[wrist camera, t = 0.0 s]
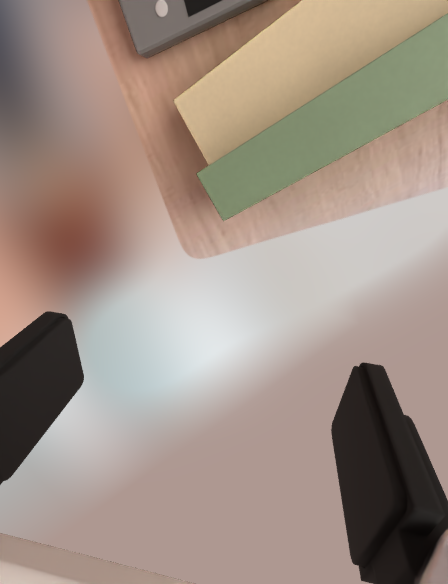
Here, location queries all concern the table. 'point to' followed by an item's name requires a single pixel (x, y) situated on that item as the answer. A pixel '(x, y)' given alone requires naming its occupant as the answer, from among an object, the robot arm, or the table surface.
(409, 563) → the robot arm
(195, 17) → the electronic device
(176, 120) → the table surface
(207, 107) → the step shelf
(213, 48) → the table surface
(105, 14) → the table surface
